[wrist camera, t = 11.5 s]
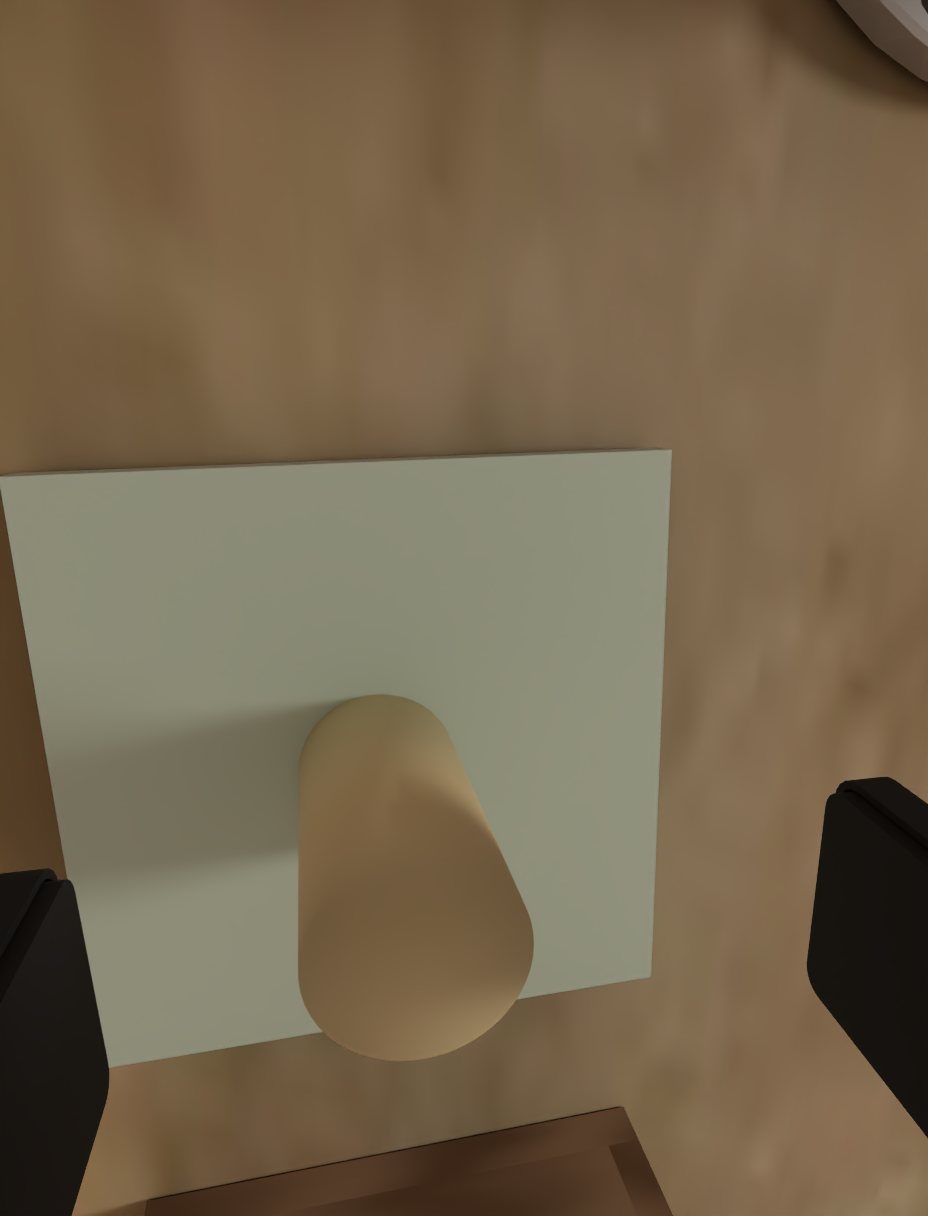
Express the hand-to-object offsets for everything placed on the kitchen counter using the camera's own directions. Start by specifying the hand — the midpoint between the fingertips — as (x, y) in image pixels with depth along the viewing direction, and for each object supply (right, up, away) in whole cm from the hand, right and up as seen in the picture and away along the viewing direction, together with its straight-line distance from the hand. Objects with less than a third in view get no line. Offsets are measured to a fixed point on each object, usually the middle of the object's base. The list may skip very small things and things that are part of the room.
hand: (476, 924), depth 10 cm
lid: (-2, +1, +7) cm, 8 cm away
